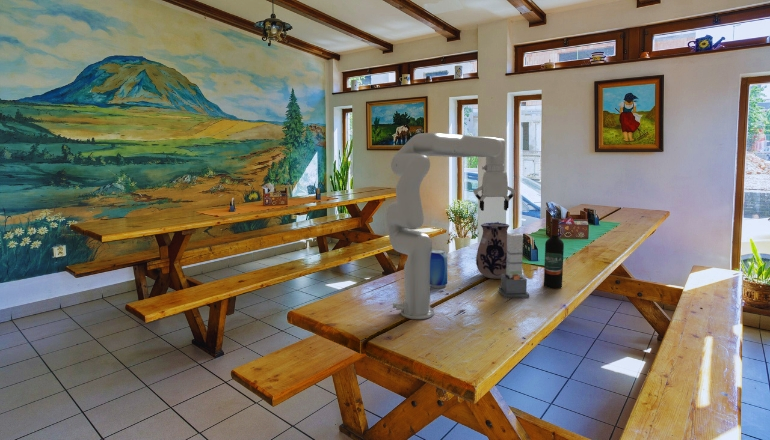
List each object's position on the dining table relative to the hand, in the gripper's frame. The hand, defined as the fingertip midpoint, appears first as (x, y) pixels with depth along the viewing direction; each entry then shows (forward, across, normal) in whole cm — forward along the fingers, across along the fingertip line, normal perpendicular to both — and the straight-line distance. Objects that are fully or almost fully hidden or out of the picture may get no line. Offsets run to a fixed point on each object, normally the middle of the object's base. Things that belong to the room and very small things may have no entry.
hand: (493, 210), depth 192 cm
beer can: (+36, -22, +9) cm, 43 cm away
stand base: (+35, +8, -4) cm, 36 cm away
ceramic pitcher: (+35, +6, +23) cm, 43 cm away
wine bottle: (+35, +28, +6) cm, 45 cm away
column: (+28, +8, -4) cm, 29 cm away
